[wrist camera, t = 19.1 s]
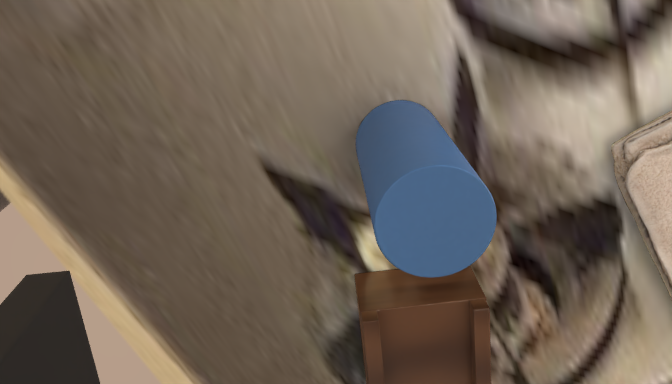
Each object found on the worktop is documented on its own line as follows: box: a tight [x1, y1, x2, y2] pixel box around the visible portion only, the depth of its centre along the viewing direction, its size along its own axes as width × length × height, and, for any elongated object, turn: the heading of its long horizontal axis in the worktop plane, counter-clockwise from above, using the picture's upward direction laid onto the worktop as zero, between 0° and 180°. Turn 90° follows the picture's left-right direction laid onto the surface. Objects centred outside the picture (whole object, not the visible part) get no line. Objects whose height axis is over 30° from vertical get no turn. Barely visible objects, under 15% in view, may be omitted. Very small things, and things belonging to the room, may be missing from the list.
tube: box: [356, 100, 497, 278], centre depth 35 cm, size 13×6×6 cm
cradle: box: [355, 266, 491, 384], centre depth 42 cm, size 8×8×6 cm
